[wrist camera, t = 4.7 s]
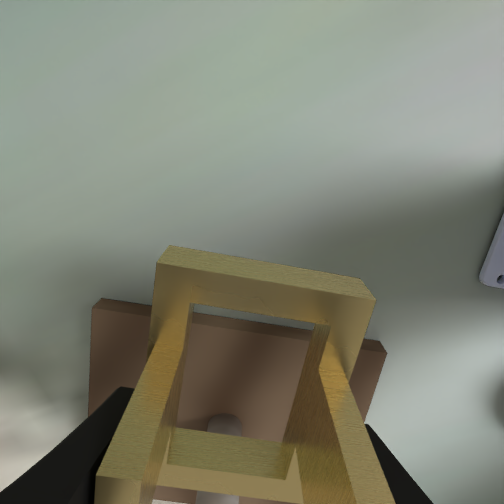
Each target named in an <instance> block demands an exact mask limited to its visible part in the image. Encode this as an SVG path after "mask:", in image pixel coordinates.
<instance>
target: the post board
mask: <svg viewBox="0 0 504 504" xmlns="http://www.w3.org/2000/svg"><path fill="white" fill-rule="evenodd" d="M151 311H152V306H149V305H143V304H136V303H130V302H123V301H117V300H110V299H104V298H101V299H100V300H99V301H98V302H97V303H96V304H95V305H94V306H93V307H92V321H91V349H90V378H89V407H88V417H89V416H90V415H91V414H92V413H93V412H94V411H95V410H96V409H97V408H98V407H99V406H100V405H101V404H102V403H103V402H104V401H105V400H106V399H107V398H108V397H109V396H110V395H111V394H112V393H113V392H114V391H115V390H116V389H117V388H119V387H120V386H122V387H129V388H136V386H137V383H138V381H139V379H140V377H141V374H142V372H143V370H144V368H145V366H146V359H147V349H148V340H149V330H150V321H151ZM312 332H313V331H311V330H304V329H298V328H292V327H285V326H279V325H272V324H266V323H259V322H253V321H246V320H240V319H233V318H227V317H220V316H214V315H207V314H201V313H194V312H193V315H192V322H191V329H190V335H189V342H188V349H187V356H186V362H185V369H184V376H183V382H182V389H181V396H180V403H179V409H178V416H177V423H176V428H183V429H190V430H197V431H204V432H211V433H219V434H226V435H233V436H240V437H247V438H254V439H261V440H268V441H275V442H282V440H283V436H284V433H285V429H286V425H287V422H288V418H289V415H290V411H291V408H292V404H293V400H294V397H295V393H296V390H297V386H298V383H299V379H300V375H301V372H302V368H303V365H304V361H305V358H306V354H307V350H308V347H309V343H310V340H311V336H312ZM386 355H387V352H386V350H385V349H384V347H383V346H382V344H381V343H380V341H376V340H369V339H363V342H362V344H361V347H360V350H359V353H358V356H357V359H356V362H355V365H354V368H353V371H352V374H351V377H350V380H349V383H348V384H349V386H350V389H351V391H352V394H353V396H354V399H355V402H356V404H357V407H358V409H359V412H360V414H361V417H362V419H363V422H364V421H365V418H366V415H367V412H368V409H369V406H370V403H371V400H372V397H373V394H374V391H375V388H376V385H377V382H378V379H379V376H380V373H381V370H382V367H383V364H384V361H385V358H386ZM153 499H156V500H164V501H172V502H180V503H187V504H297V503H290V502H282V501H274V500H267V499H259V498H251V497H244V496H236V495H228V494H221V493H213V492H205V491H198V490H190V489H182V488H175V487H167V486H159V485H156V489H155V493H154V496H153Z"/></svg>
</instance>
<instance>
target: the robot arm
mask: <svg viewBox="0 0 504 504" xmlns="http://www.w3.org/2000/svg"><path fill="white" fill-rule="evenodd" d="M500 275H502V278H501V279H500V280H499V281H497V278H498V277H499V276H500ZM479 279H480V281H481V282H482V283H483V284H485V285H487V286H490V287H496V288H502V289H504V213H503V216H502V218H501V221H500V224H499V226H498V229H497V231H496V234H495V236H494V239H493V241H492V244H491V246H490V249H489V251H488V254H487V257H486V259H485V262H484V264H483V267H482V269H481V272H480V275H479ZM134 390H135V388H129V387H122V386H120V387H119V388H117V389H116V390H115V391H114V392H113V393H112V394H111V395H110V396H109V397H108V398H107V399H106V400H105V401H104V402H103V403H102V404H101V405H100V406H99V407H98V408H97V409H96V410H95V411H94V412H93V413H92V414H91V415H90V416H89V417H88V418H87V419H86V420H85V421H84V422H83V423H82V424H80V425H79V426H78V427H77V428H76V429H75V430H74V431H73V432H72V433H71V434H69V435H68V436H67V437H66V438H65V439H64V440H63V441H62V442H61V443H59V444H58V445H57V446H56V447H55V448H54V449H53V450H52V451H50V452H49V453H48V454H47V455H46V456H44V457H43V458H42V459H41V460H40V461H38V462H37V463H36V464H35V465H34V466H32V467H31V468H30V469H29V470H28V471H26V472H25V473H24V474H23V475H22V476H20V477H19V478H18V479H17V480H15V481H14V482H13V483H12V484H10V485H9V486H8V487H6V488H5V489H4V490H3V491H1V492H0V504H94V498H95V481H96V474H97V472H98V469H99V467H100V465H101V463H102V460H103V458H104V456H105V454H106V452H107V449H108V447H109V445H110V443H111V441H112V438H113V436H114V434H115V432H116V430H117V427H118V425H119V423H120V421H121V419H122V416H123V414H124V412H125V410H126V408H127V405H128V403H129V401H130V399H131V397H132V394H133V392H134ZM365 427H366V430H367V432H368V435H369V437H370V440H371V442H372V445H373V447H374V450H375V453H376V455H377V458H378V460H379V463H380V465H381V468H382V470H383V473H384V476H385V478H386V481H387V483H388V486H389V488H390V491H391V493H392V496H393V498H394V501H395V504H433V503H432V501H431V500H430V499H429V498H428V497H427V495H426V494H425V493H424V492H423V491H422V489H421V488H420V487H419V486H418V485H417V483H416V482H415V481H414V480H413V479H412V477H411V476H410V475H409V474H408V473H407V471H406V470H405V469H404V468H403V466H402V465H401V464H400V463H399V461H398V460H397V459H396V458H395V456H394V455H393V454H392V453H391V451H390V450H389V449H388V448H387V446H386V445H385V444H384V443H383V441H382V440H381V439H380V438H379V436H378V435H377V434H376V433H375V432H374V430H373V429H372V428H371V427H370V426H369V425H368V424H365Z"/></svg>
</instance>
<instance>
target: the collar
mask: <svg viewBox="0 0 504 504" xmlns="http://www.w3.org/2000/svg"><path fill="white" fill-rule="evenodd" d="M194 303H196V304H202V305H208V306H214V307H220V308H226V309H232V310H238V311H244V312H250V313H257V314H263V315H269V316H275V317H281V318H287V319H293V320H299V321H305V322H311V323H315V325H314V329H313V332H312V336H311V340H310V343H309V347H308V350H307V354H306V358H305V361H304V365H303V368H302V372H301V375H300V379H299V383H298V386H297V390H296V393H295V397H294V400H293V404H292V408H291V411H290V415H289V418H288V422H287V425H286V429H285V433H284V436H283V440H282V442H275V441H268V440H261V439H254V438H247V437H240V436H233V435H226V434H219V433H211V432H204V431H197V430H190V429H183V428H176V423H177V416H178V409H179V403H180V396H181V389H182V382H183V376H184V369H185V362H186V356H187V349H188V342H189V335H190V329H191V322H192V315H193V308H194ZM375 303H376V299H375V298H374V296H373V295H372V294H371V292H370V291H369V290H368V288H367V287H366V286H365V284H364V283H363V282H362V280H361V279H360V278H355V277H349V276H343V275H338V274H332V273H326V272H320V271H315V270H309V269H303V268H298V267H292V266H286V265H280V264H275V263H269V262H263V261H258V260H252V259H246V258H240V257H235V256H229V255H223V254H217V253H212V252H206V251H200V250H195V249H189V248H183V247H177V246H172V245H169V246H168V248H167V249H166V250H165V252H164V253H163V254H162V256H161V257H160V259H159V260H158V261H157V264H156V273H155V283H154V292H153V302H152V311H151V321H150V330H149V340H148V349H147V359H146V366H145V368H144V370H143V372H142V374H141V377H140V379H139V381H138V383H137V386H136V388H135V390H134V392H133V394H132V397H131V399H130V401H129V403H128V405H127V408H126V410H125V412H124V414H123V416H122V419H121V421H120V423H119V425H118V427H117V430H116V432H115V434H114V436H113V438H112V441H111V443H110V445H109V447H108V449H107V452H106V454H105V456H104V458H103V460H102V463H101V465H100V467H99V469H98V472H97V474H96V481H95V498H94V504H152V500H153V496H154V493H155V489H156V485H159V486H167V487H175V488H182V489H190V490H198V491H205V492H213V493H221V494H228V495H236V496H244V497H251V498H259V499H267V500H274V501H282V502H290V503H297V504H395V501H394V498H393V496H392V493H391V491H390V488H389V486H388V483H387V481H386V478H385V476H384V473H383V470H382V468H381V465H380V463H379V460H378V458H377V455H376V453H375V450H374V447H373V445H372V442H371V440H370V437H369V435H368V432H367V430H366V427H365V424H364V422H363V419H362V417H361V414H360V412H359V409H358V407H357V404H356V402H355V399H354V396H353V394H352V391H351V389H350V386H349V384H348V383H349V380H350V377H351V374H352V371H353V368H354V365H355V362H356V359H357V356H358V353H359V350H360V347H361V344H362V342H363V339H364V336H365V333H366V330H367V327H368V324H369V321H370V318H371V315H372V312H373V309H374V306H375Z"/></svg>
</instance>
